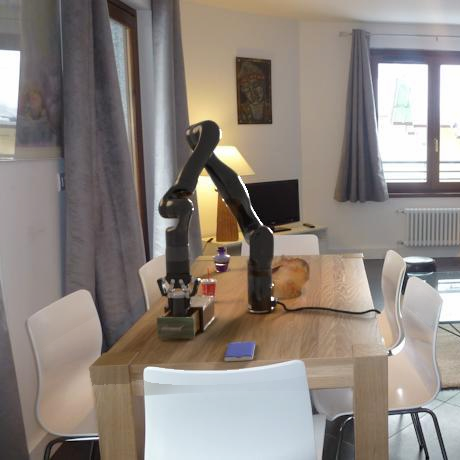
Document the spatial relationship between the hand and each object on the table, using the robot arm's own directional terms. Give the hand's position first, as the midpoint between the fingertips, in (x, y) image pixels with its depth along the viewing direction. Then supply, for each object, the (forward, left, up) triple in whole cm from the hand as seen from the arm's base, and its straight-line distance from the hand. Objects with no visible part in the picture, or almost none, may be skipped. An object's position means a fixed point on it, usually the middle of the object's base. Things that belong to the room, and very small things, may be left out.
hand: (179, 308), depth 208 cm
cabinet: (0, -11, -10) cm, 15 cm away
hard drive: (-23, +17, -10) cm, 30 cm away
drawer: (0, +1, -9) cm, 9 cm away
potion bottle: (+9, -95, -10) cm, 96 cm away
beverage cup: (+1, -40, -10) cm, 41 cm away
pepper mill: (0, 0, -8) cm, 8 cm away
